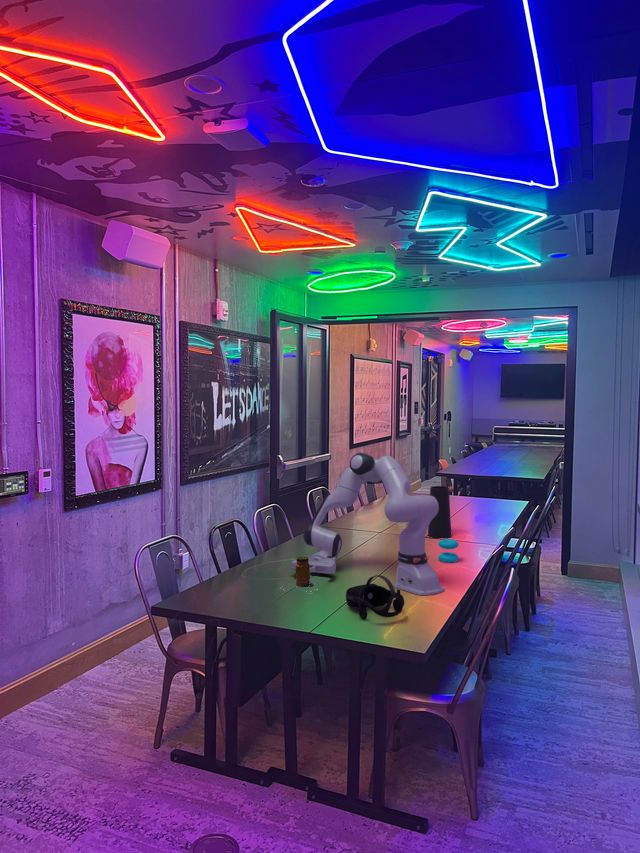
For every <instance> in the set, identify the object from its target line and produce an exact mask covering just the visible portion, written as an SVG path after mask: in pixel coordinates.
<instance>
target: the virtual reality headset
mask: <svg viewBox="0 0 640 853" xmlns="http://www.w3.org/2000/svg"><path fill="white" fill-rule="evenodd" d="M376 577H378V578H380V579H382V580H383V581H385V582H384V583H386V584H387V586H388V589H387V588H386V587H385V586H381V585H379V584H378V585H377V584H376V583H371V582H372V581H373V579H375V578H376ZM345 601H346V605H347V606H348V607H350V608H355V609H358V615H359V617H360V619H362V620H365V619H367V618H368V610H367V608H369V609H370V610H371V611H372V612H373V613H374V614H376V615H378V616H380V617H383V618H394V617H396V616H398V615H400V613H401V612H402V610H403V608H404V606H405V598H404V596H403V595H402V594H401V589H398V588H395V587H394V584H392V582H391V580H390V579H388V577H386V576H384V575H381V574H376V575H374V576H370V577H369V578H368V579H367V582H366V583H365V584H361V585H360V584H359V585H356V586H355V585H354V586H351V587H349V588H347V590H346V592H345ZM383 606H384V607H383ZM391 606H392V608H393V609H394V611H393V612H392V611H390V609H391ZM380 607H383V608H380ZM379 608H380V609H379Z"/></svg>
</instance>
